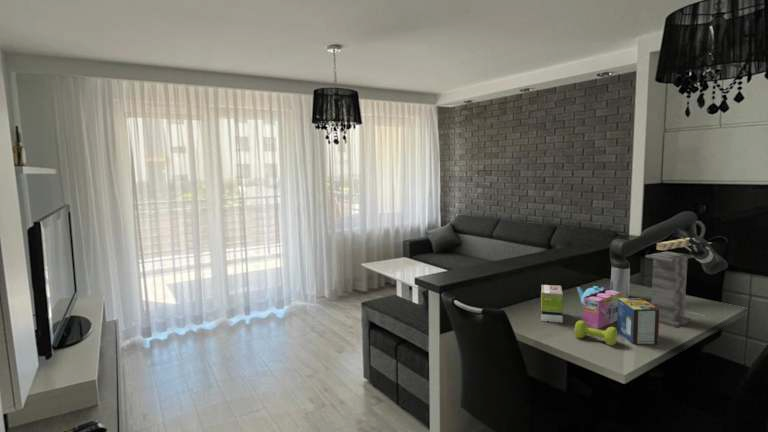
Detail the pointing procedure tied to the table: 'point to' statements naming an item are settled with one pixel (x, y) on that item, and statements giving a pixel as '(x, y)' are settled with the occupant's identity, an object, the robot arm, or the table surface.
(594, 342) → the table surface
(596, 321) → the gum box
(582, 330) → the dumbbell
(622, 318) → the protein box
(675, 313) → the pedestal shelf
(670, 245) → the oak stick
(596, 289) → the teapot
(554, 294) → the tea box
